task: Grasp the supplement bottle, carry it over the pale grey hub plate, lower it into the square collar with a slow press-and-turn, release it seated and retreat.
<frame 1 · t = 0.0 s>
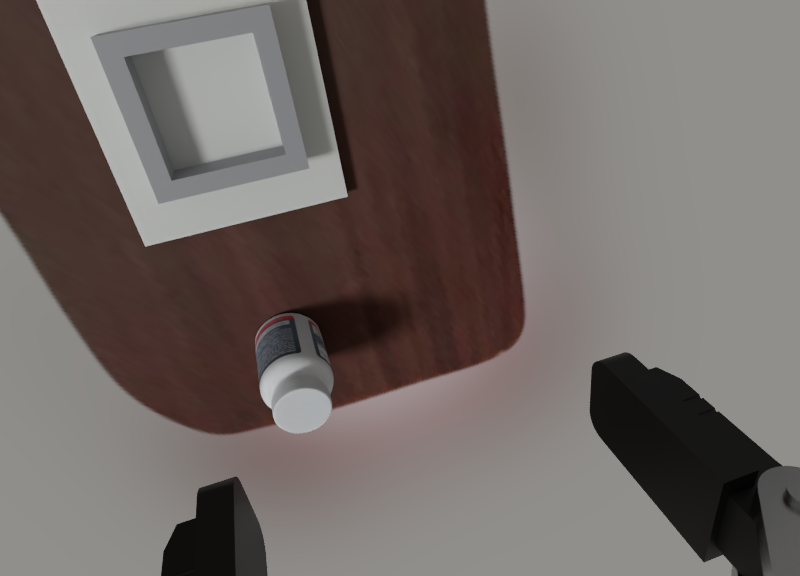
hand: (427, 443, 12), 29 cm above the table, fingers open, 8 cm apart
pill bottle: (288, 337, 44), on the table
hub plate: (211, 99, 34), on the table
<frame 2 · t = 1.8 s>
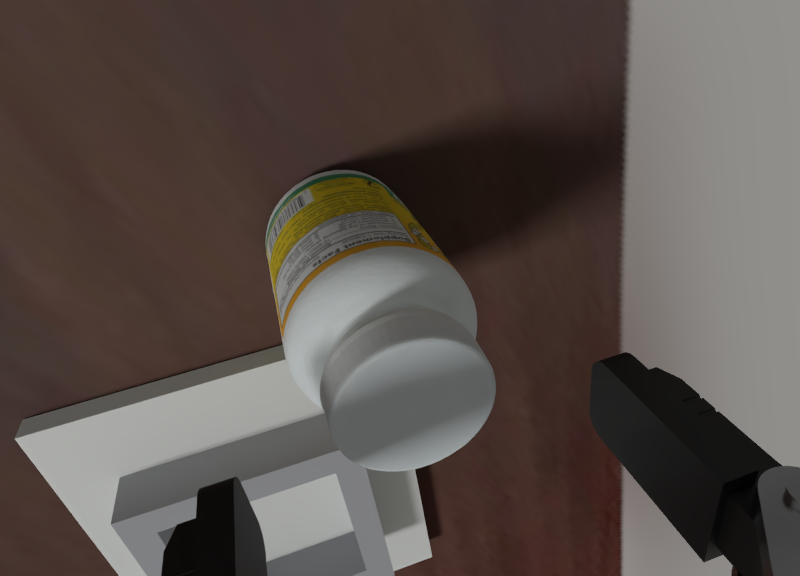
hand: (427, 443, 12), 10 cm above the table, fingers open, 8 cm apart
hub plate: (267, 493, 26), on the table
supplement bottle: (337, 234, 20), on the table
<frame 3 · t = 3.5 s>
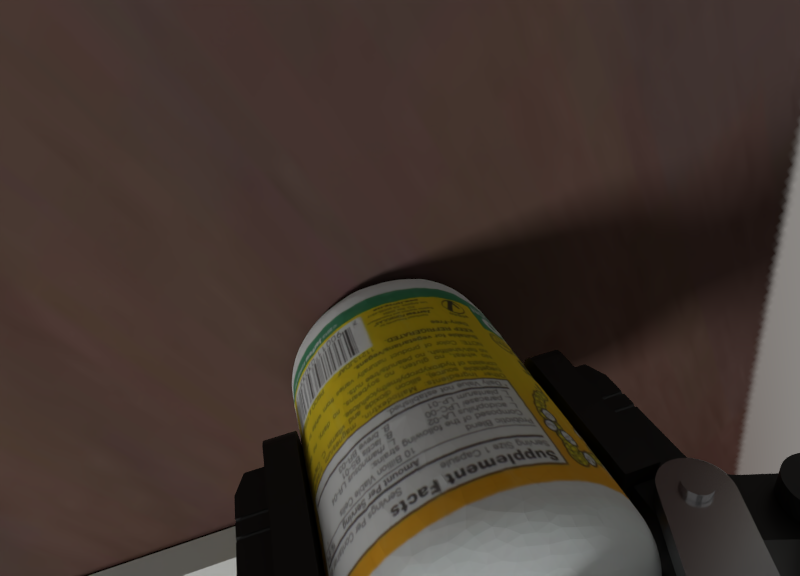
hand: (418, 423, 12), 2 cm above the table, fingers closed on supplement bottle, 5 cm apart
supplement bottle: (391, 359, 14), on the table, touching gripper
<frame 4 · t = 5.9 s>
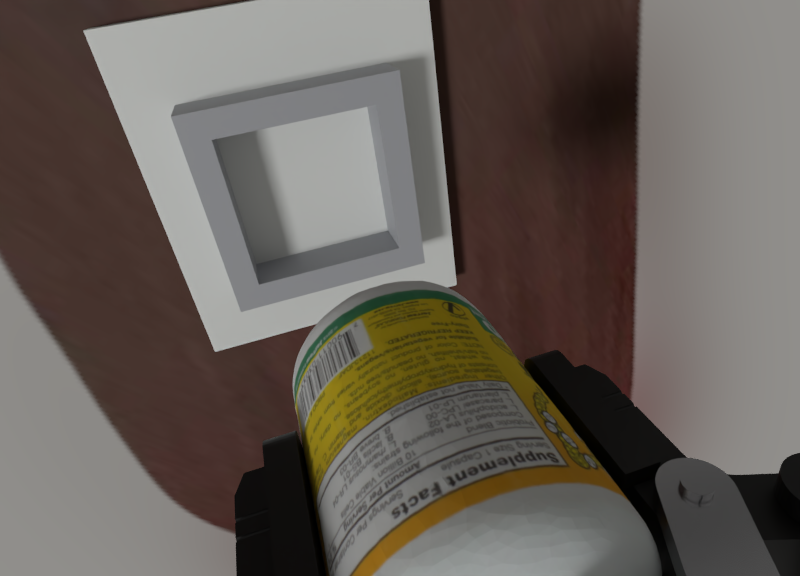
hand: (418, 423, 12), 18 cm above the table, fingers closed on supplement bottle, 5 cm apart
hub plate: (305, 177, 27), on the table
supplement bottle: (391, 360, 14), point 15 cm above the table, touching gripper
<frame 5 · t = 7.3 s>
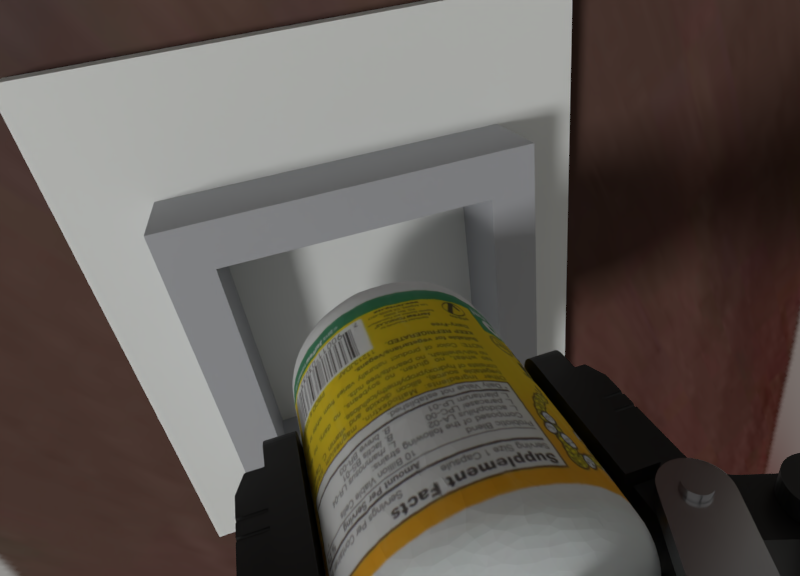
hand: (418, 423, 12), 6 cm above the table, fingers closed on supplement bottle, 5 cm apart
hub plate: (358, 290, 18), on the table
supplement bottle: (391, 360, 14), point 4 cm above the table, touching gripper
when the fingers open (4 cm above the table, at t = 8.6 s): supplement bottle stays where it is, resting on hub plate.
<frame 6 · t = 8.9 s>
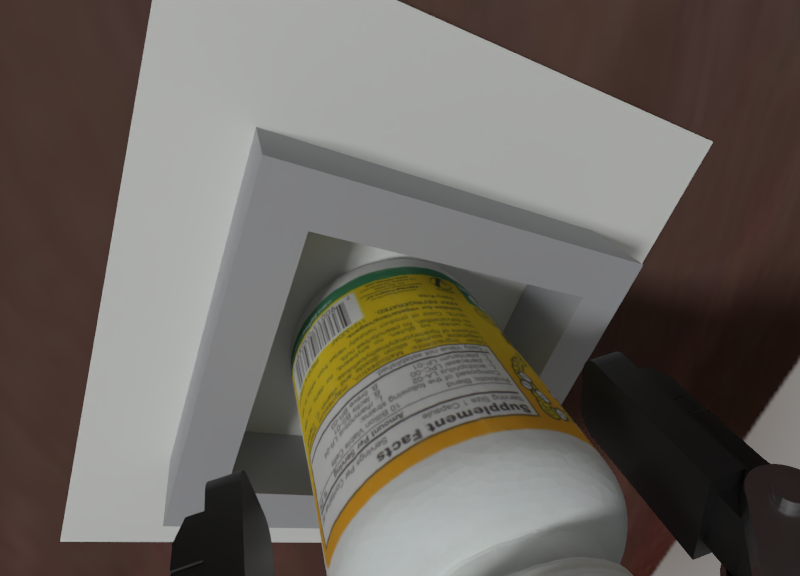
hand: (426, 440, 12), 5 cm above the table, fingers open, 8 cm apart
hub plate: (374, 324, 16), on the table
supplement bottle: (384, 337, 15), point 1 cm above the table, touching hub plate
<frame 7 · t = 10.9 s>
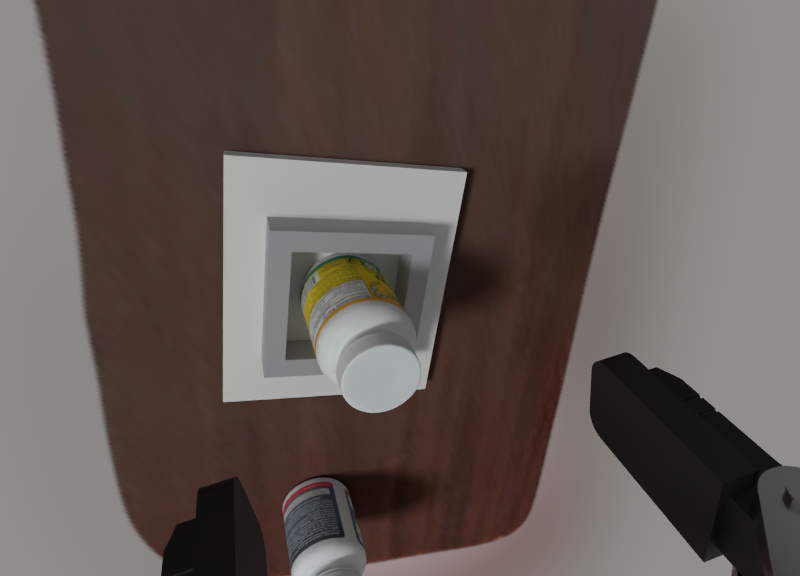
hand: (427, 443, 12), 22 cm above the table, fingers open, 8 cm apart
pill bottle: (315, 498, 43), on the table
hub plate: (338, 284, 35), on the table
supplement bottle: (341, 288, 34), point 1 cm above the table, touching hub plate
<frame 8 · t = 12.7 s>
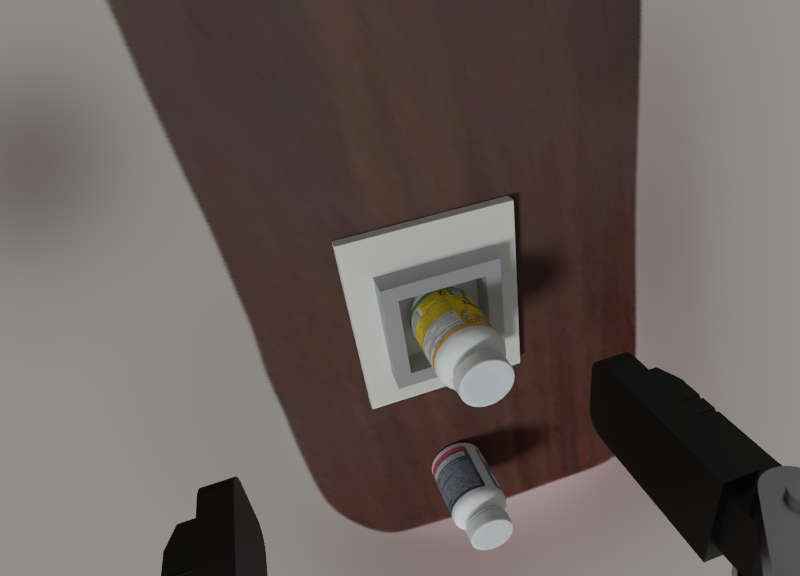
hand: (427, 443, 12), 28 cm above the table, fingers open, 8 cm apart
pill bottle: (454, 459, 55), on the table
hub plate: (434, 305, 45), on the table
supplement bottle: (437, 309, 44), point 1 cm above the table, touching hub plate
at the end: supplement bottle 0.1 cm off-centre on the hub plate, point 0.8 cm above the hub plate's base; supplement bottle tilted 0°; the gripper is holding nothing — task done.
